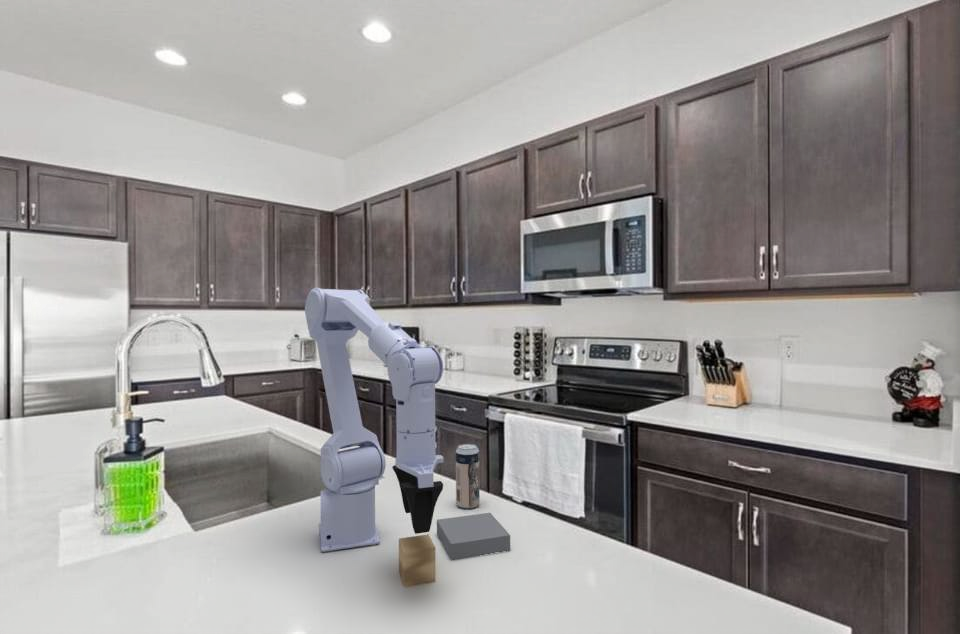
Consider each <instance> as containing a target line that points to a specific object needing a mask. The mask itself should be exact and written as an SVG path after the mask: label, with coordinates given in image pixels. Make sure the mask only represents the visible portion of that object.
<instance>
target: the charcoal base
mask: <svg viewBox="0 0 960 634" xmlns="http://www.w3.org/2000/svg"><path fill="white" fill-rule="evenodd" d="M436 535H437V537H438V539H439V541H440V543H441V545H442V547H443V548H444V550H445V552H446V554H447V555H448V558H449V559H450V561H457V560H462V559H463V560H464V559H468V558H475V557H481V556H480V555H482V556H486V555H485V554H488V555H491V554H490V553H494V554H496V553H495V552H500V553H504V552H503V551H506V552H510V551H511V535H510V533H509V532H508V531H507V529H505V528H504V526H502V524H501V523H500V522H499V521H498V520H497V519H496V518H495V517H494V515H493V514H492V513H491V512H483V513H476V514H470V515H461V516H454V517H446V518H439V519H436Z"/></svg>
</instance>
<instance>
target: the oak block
mask: <svg viewBox="0 0 960 634" xmlns="http://www.w3.org/2000/svg"><path fill="white" fill-rule="evenodd" d="M436 569H437V567H436V546H435V544H434V541H433V540H432V538H431V536H430V534H429V533H428V534H422V535H414V536H407V537H400V538H398V572H399V575H400V579H401V582H402V586H403V588H407V587H413V586H419V585H424V584H430V583H435V582H437V581H436V575H437V574H436Z"/></svg>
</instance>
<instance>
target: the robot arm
mask: <svg viewBox="0 0 960 634" xmlns="http://www.w3.org/2000/svg"><path fill="white" fill-rule="evenodd" d="M369 297H370V296H369V295H368V294H365V292H364V291H363V290H362V289H336V288H335V289H334V288H332V289H330V288H320V287H313V288H312V289H311V290H310V291H309V293H307V296H306V300H305V304H304V315H305V319H306V325H307V330H308V334H309V338H310V339H312V340H314V341H315V342H316V347H317V352H318V353H317V354H318V357H319V363H320V367H321V374H322V379H323V384H324V390H325V396H326V401H327V406H328V407H327V408H328V411H329V417H330V422H331V427H332V432H333V433H332V434H331V436H330V437H329V438H328V439H327V440H326V441H325V442H324V443H323V445H322V446H321V448H320V460H321V464H320V476H321V479H322V483H323V484H324V486H325V487H326V488H327V489H322V490H320V523H318V536H320V552H322V553H323V552H324V553H325V552H332V551H338V550H343V549H350V548H359V547H364V546H365V547H366V546H372V545H378V544H379V543H380V542H381V540H380V536H379V532H378V529H377V525H376V486H377V485H380V484H379V483H380V481H379V479H381V478H382V477H383V475H384V474H385V470H386V466H387V464H386V462H387V460H386V455H385V453H384V451H383V450H382V448H381V445H380V443H379V439H378V436H377V434H376V433H374V432H372V431H371V430H369V429H367V428H366V427H364V426H363V422H362V421H363V420H362V415H361V411H360V410H361V409H360V407H359V401H358V396H357V392H356V388H355V382H354V376H353V372H352V367H351V363H350V357H349V352H348V346H347V343H348V341H349V340H351V339H353V338H354V337H355V336H356V334H357V333H359V331H360V332H361V333H363V335H365V336H366V337H367V338H368V341H367V343H368V344H367V345H368V347H369V349H370V351H371V352H372V353H373V354H374V355H375V356H376V357H377V358H379V360H380V361H381V362H382V363H383V364H384V365H385V366H386V367H387V376H388V380H389V382H390V384H391V388H392V389H391V390H392V392H391V393H392V396H393V400H395V401H396V403H395V404H396V406H395V407H396V411H395V412H396V414H395V415H396V419H395V420H396V425H395V426H396V427H395V428H396V458H395V462H394V463H395V464H394V465H392V470H393V472H394V473H395V475H396V478H397V482H398V484H399V489H400V494H401V499H402V504H403V505H402V506H403V509H404V512H405V514H410V518H411V525H412V528H413V532H414V534H416V535H417V534H423V533H424V534H425V533H429V532H430V531H431V527H432V523H433V522H432V521H433V518H434V512H435V507H436V505H437V502H438V499H439V497H440V495H441V493H442V492H443V489H444V483H443V481H441V480H437V481H434V471H435V469H436V466H437V464H441V463H442V464H443V463H444V456H442V455H441V454H437V455H436V384H438V383H439V382H440V381H441V379H442V376H443V373H444V362H443V358H442V356H441V353H439V351H438V350H437V349H436V347H434V346H431V345H428V346H424V345H420V343H418V341H417V340H416V339H415V338H412V337H411V336H410V335H409V334H408V333H407V332H406V331H405V330H403V328H402V326H401V324H400V323H399V322H398V321H384V319H382V318H381V317H380V315H379V314H378V313H377V312H376V311H375V310H374V309H373V307H371V304H370V303H371V302H370V298H369ZM351 447H353V448H351ZM347 448H348V449H347ZM341 449H344V450H341Z"/></svg>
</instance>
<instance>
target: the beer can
mask: <svg viewBox="0 0 960 634" xmlns="http://www.w3.org/2000/svg"><path fill="white" fill-rule="evenodd" d="M455 505H456V506H458V507H459V508H461V509H465V510H466V509H467V510H469V509H470V510H471V509H474V508H476V507H477V506H479V505H480V450H479V448H478V446H477V445H476V444H472V443H471V444H470V443H465V444H459V445H458V446H457V448H456V450H455Z"/></svg>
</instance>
